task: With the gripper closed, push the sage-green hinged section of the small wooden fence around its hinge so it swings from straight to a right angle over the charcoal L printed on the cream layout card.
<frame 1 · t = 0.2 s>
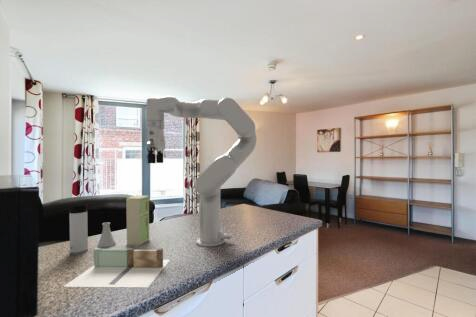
hand: (156, 162, 113), 36 cm above the worktop, tool pointing down, fingers open, 9 cm apart
fence gate panel: (111, 257, 88), point 4 cm above the worktop, hinge at 0.0°
layout card: (122, 272, 84), on the worktop
flask: (106, 246, 111), on the worktop
toy refrigerator: (139, 242, 114), on the worktop
fixed fence section: (131, 266, 88), resting on layout card
travel mug: (79, 252, 103), on the worktop
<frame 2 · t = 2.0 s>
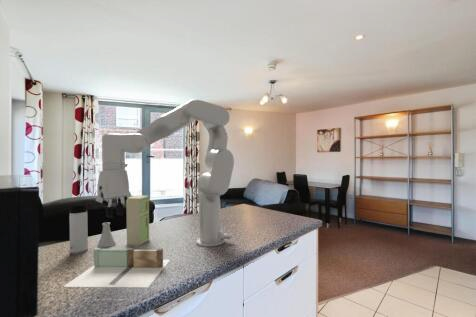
hand: (114, 215, 92), 17 cm above the worktop, tool pointing down, fingers open, 3 cm apart
nothing on the worktop moved.
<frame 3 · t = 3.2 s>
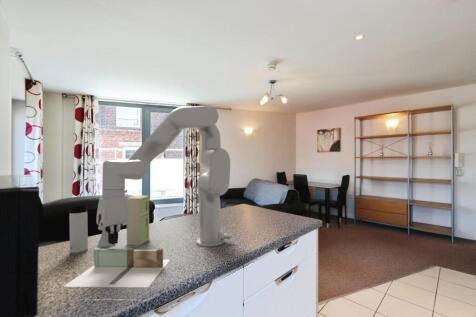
hand: (113, 243, 92), 7 cm above the worktop, tool pointing down, fingers closed
nothing on the worktop moved.
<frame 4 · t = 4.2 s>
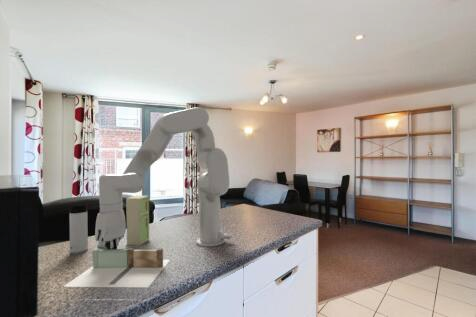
hand: (112, 257, 91), 2 cm above the worktop, tool pointing down, fingers closed
fence gate panel: (110, 257, 88), point 4 cm above the worktop, hinge at 3.3°, touching gripper
everything else where it was.
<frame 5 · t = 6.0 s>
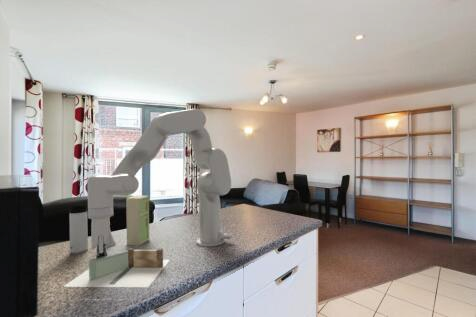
hand: (102, 266, 84), 2 cm above the worktop, tool pointing down, fingers closed
fence gate panel: (109, 263, 82), point 4 cm above the worktop, hinge at 49.8°, touching gripper
everything else where it was.
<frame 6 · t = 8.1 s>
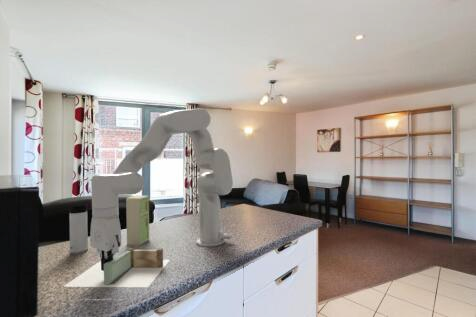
hand: (107, 269, 80), 3 cm above the worktop, tool pointing down, fingers closed
fence gate panel: (118, 265, 81), point 4 cm above the worktop, hinge at 84.6°
everything else where it was.
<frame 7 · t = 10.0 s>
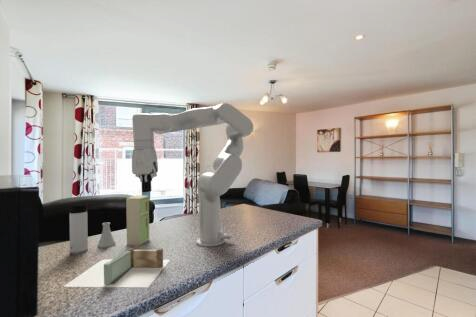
hand: (146, 191, 98), 25 cm above the worktop, tool pointing down, fingers closed
nothing on the worktop moved.
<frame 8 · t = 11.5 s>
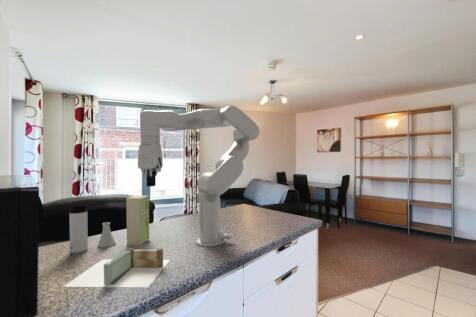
hand: (151, 186, 102), 27 cm above the worktop, tool pointing down, fingers closed
nothing on the worktop moved.
at the end: fence gate panel at +85° (first picture: +0°) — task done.
